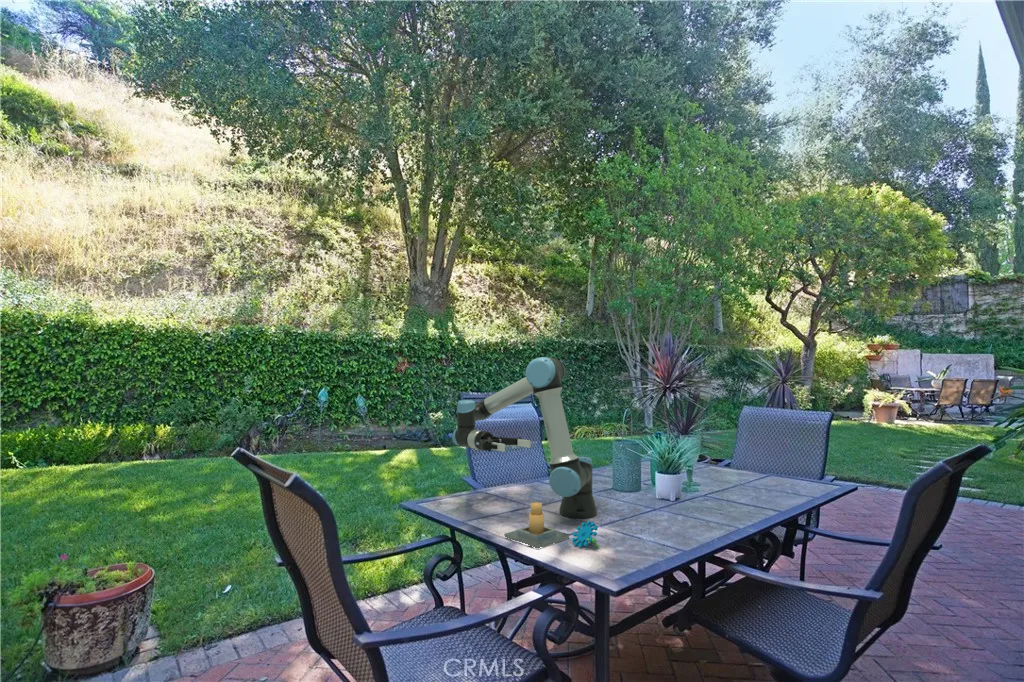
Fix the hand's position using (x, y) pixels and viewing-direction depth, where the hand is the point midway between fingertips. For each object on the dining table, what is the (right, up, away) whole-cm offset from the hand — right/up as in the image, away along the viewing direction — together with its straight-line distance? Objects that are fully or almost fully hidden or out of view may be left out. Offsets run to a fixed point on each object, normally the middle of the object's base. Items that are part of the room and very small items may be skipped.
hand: (517, 446), depth 204 cm
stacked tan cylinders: (+7, -28, -15) cm, 32 cm away
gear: (+23, -29, -23) cm, 44 cm away
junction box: (+7, -29, -15) cm, 34 cm away
